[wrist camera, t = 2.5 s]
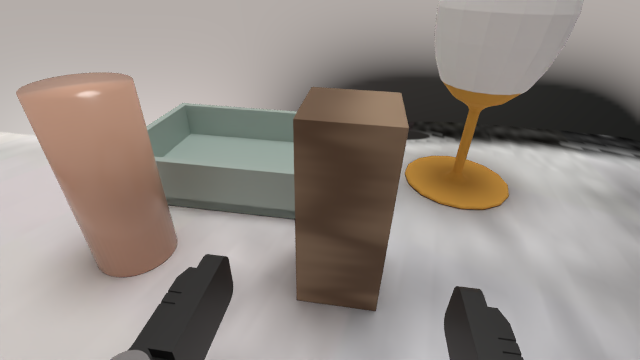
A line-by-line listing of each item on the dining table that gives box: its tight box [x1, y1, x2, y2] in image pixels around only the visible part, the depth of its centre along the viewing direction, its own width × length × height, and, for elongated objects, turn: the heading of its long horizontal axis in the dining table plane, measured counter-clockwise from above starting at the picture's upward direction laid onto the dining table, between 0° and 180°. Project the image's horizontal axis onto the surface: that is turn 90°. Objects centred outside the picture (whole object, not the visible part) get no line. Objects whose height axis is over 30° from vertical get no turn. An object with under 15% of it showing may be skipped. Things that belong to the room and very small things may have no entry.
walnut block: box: [293, 87, 409, 311], centre depth 17 cm, size 4×4×11 cm
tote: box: [146, 103, 297, 219], centre depth 30 cm, size 19×12×4 cm, turn 82°
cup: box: [405, 0, 584, 210], centre depth 26 cm, size 9×9×16 cm
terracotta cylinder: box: [16, 73, 177, 277], centre depth 19 cm, size 5×5×11 cm
